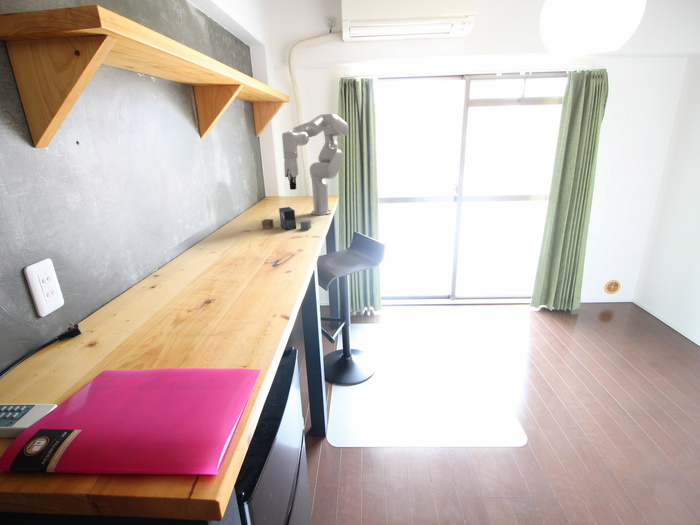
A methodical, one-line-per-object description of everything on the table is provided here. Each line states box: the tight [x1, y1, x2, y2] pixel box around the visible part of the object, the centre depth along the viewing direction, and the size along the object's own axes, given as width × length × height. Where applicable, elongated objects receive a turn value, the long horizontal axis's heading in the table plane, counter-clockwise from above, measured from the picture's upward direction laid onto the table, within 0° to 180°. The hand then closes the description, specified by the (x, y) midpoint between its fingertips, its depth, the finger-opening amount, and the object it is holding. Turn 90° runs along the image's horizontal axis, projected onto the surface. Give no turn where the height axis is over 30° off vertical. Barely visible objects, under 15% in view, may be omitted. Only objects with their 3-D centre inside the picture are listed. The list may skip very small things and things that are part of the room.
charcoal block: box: [299, 219, 312, 231], centre depth 200 cm, size 4×4×4 cm
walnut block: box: [261, 218, 274, 230], centre depth 204 cm, size 4×4×4 cm
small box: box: [278, 206, 297, 231], centre depth 203 cm, size 11×6×10 cm, turn 25°
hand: (293, 189), depth 210 cm, fingers closed
